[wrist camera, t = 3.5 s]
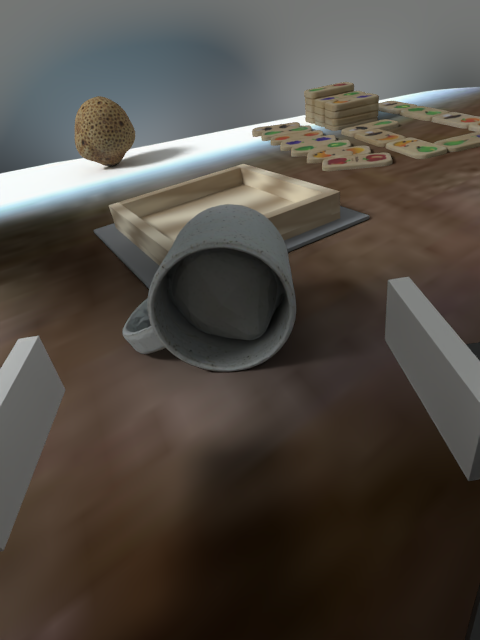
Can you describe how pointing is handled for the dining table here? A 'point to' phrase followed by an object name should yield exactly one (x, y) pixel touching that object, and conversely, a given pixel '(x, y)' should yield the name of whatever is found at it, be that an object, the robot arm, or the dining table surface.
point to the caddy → (219, 189)
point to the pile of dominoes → (363, 129)
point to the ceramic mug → (219, 293)
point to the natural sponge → (103, 131)
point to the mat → (148, 267)
